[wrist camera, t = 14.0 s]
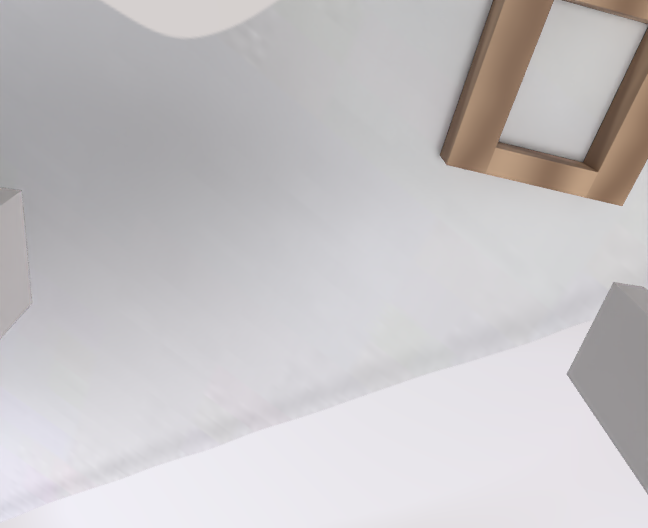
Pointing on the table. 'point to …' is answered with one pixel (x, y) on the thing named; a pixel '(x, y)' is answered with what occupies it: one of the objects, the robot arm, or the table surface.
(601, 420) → the robot arm
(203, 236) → the table surface
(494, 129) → the frame
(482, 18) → the table surface
